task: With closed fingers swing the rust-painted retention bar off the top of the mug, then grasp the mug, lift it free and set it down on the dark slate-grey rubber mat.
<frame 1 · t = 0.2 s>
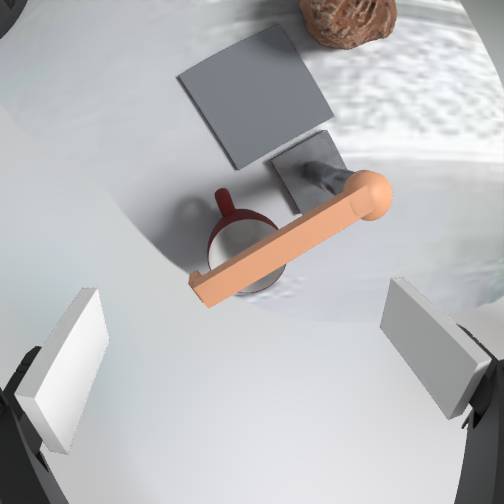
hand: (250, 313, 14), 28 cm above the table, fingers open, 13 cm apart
mat: (258, 93, 35), on the table
decorative rock: (336, 17, 32), on the table
retention clip: (289, 236, 27), point 15 cm above the table, hinge at 0.0°
clip post: (312, 171, 40), on the table
mug: (235, 220, 41), on the table
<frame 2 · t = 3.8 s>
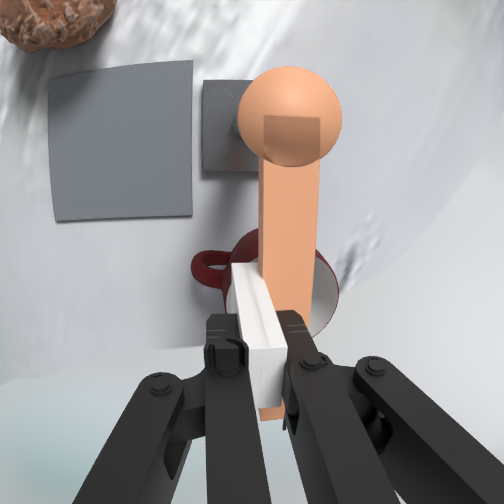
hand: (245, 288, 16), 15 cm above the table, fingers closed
mat: (115, 141, 26), on the table
decorative rock: (77, 5, 20), on the table
retention clip: (280, 274, 15), point 15 cm above the table, hinge at 1.5°, touching gripper
clip post: (249, 125, 27), on the table
mug: (250, 250, 31), on the table
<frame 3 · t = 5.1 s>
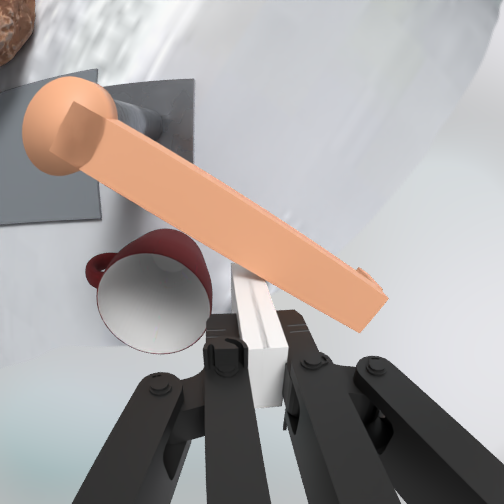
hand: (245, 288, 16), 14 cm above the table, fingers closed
mat: (35, 151, 24), on the table
decorative rock: (8, 26, 19), on the table
retention clip: (216, 208, 14), point 15 cm above the table, hinge at 57.2°, touching gripper
clip post: (148, 127, 25), on the table
mug: (158, 252, 30), on the table
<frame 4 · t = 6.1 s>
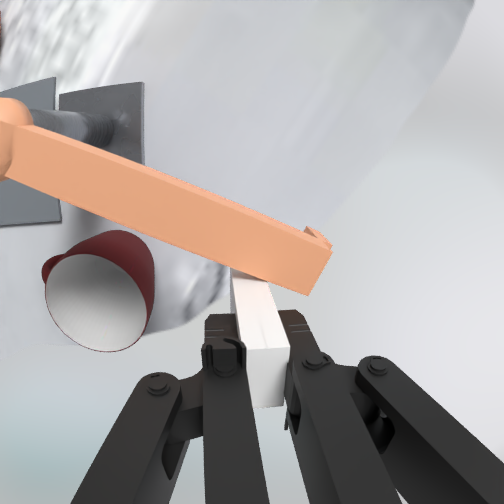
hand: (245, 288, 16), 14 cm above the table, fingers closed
mat: (2, 158, 24), on the table
retention clip: (131, 186, 13), point 15 cm above the table, hinge at 66.1°, touching gripper
clip post: (101, 131, 25), on the table
mug: (115, 253, 29), on the table
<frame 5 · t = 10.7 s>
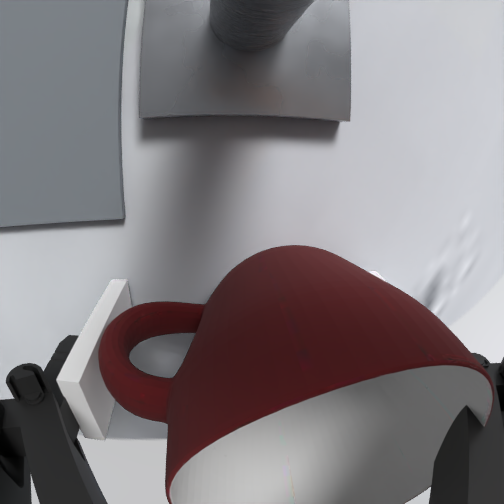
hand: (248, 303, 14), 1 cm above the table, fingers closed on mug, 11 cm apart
clip post: (247, 24, 10), on the table
mug: (250, 290, 15), on the table, touching gripper
when the fingers open (1 cm above the table, at t = 17.1 s): mug stays where it is, resting on mat.
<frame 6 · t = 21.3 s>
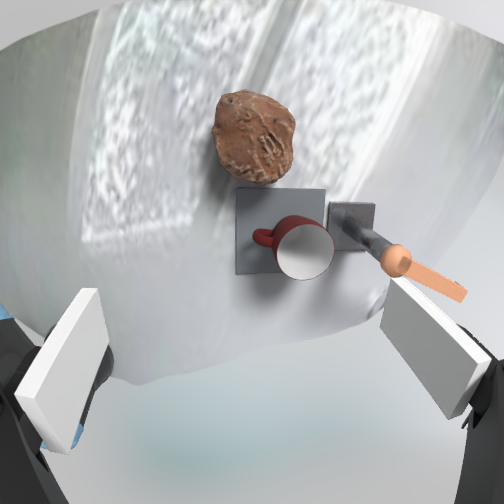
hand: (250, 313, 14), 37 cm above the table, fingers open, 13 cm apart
mat: (280, 231, 51), on the table
decorative rock: (250, 135, 46), on the table
retention clip: (426, 275, 41), point 15 cm above the table, hinge at 66.7°
clip post: (349, 225, 52), on the table
mug: (281, 230, 51), resting on mat
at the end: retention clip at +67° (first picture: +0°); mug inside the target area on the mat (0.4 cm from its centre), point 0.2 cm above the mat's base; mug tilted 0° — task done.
